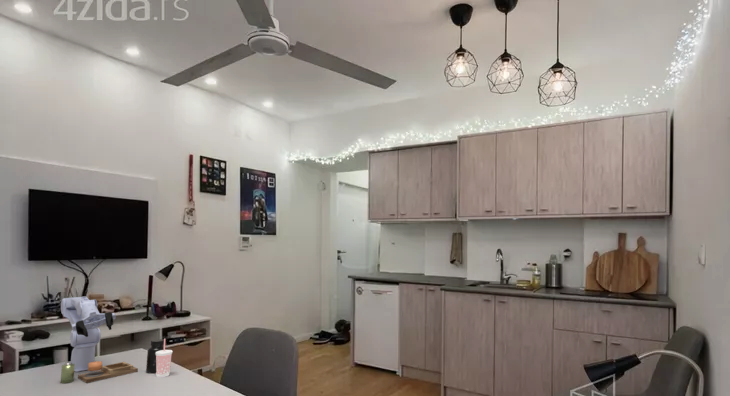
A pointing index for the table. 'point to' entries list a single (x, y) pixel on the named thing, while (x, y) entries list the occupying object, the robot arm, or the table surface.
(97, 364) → the button
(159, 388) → the table surface
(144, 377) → the table surface
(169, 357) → the beverage cup
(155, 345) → the supplement bottle
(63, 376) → the cell
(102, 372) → the board
